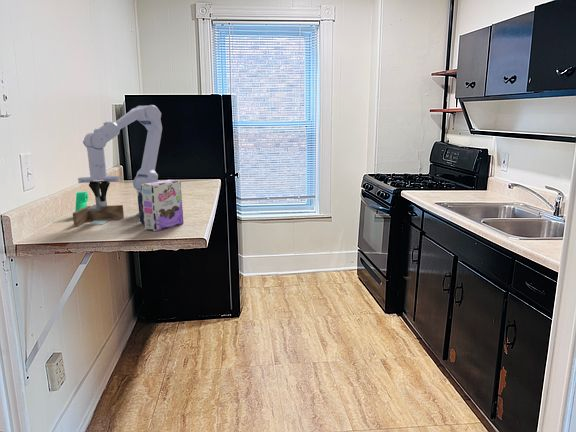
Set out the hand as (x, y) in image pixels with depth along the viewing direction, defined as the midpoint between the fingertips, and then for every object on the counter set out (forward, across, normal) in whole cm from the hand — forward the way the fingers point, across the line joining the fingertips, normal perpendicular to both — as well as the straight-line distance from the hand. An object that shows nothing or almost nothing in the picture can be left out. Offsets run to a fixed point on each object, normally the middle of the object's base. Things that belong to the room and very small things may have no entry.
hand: (101, 201), depth 170 cm
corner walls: (+8, -2, 0) cm, 8 cm away
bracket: (+3, -2, 0) cm, 3 cm away
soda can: (+8, +18, -4) cm, 21 cm away
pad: (+8, -2, 0) cm, 8 cm away
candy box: (+8, +26, -12) cm, 29 cm away
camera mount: (+9, -10, +14) cm, 20 cm away
